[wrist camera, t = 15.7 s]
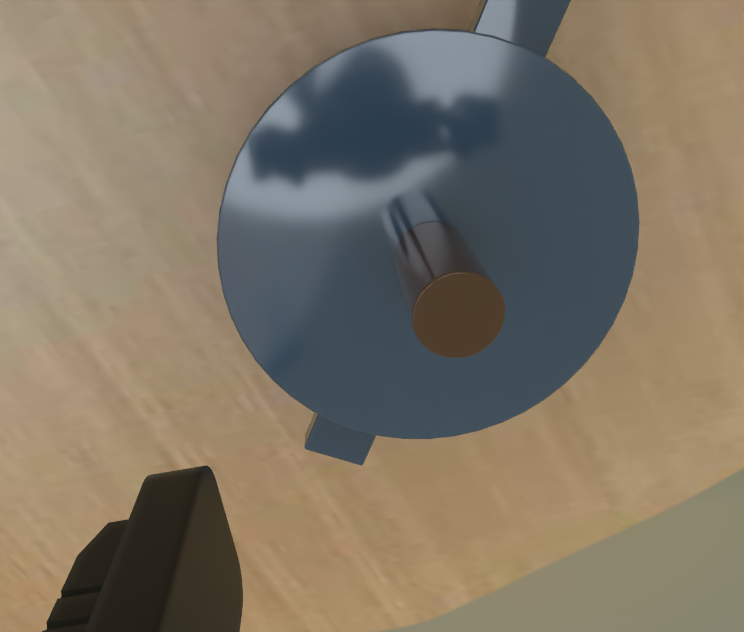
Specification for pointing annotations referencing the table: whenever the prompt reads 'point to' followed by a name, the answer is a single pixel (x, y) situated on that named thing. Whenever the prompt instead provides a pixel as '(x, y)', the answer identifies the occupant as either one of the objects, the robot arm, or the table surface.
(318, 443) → the cooking pot
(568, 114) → the pot lid
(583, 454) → the table surface
